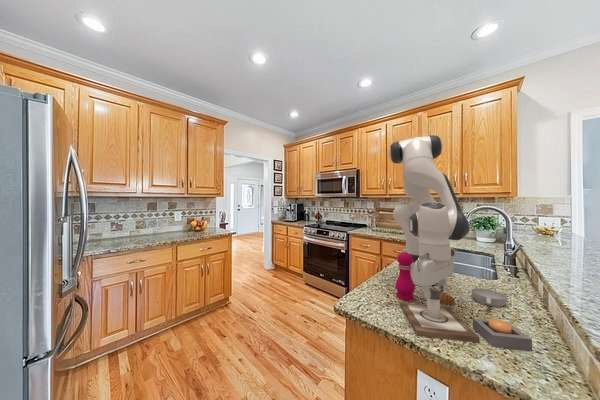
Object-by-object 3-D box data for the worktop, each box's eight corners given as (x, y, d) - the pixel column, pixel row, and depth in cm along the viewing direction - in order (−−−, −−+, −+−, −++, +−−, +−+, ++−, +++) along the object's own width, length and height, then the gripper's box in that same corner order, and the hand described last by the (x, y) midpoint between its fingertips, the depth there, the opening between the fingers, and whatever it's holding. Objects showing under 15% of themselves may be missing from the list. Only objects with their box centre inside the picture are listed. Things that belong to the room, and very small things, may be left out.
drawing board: (400, 306, 81) (400, 301, 81) (447, 310, 78) (447, 305, 78) (416, 335, 63) (416, 329, 63) (479, 342, 60) (479, 335, 60)
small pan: (506, 301, 86) (506, 292, 86) (509, 319, 73) (509, 307, 73) (472, 294, 93) (472, 285, 93) (469, 309, 80) (469, 298, 80)
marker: (424, 313, 72) (423, 289, 72) (434, 312, 73) (433, 288, 73) (432, 319, 68) (432, 293, 69) (443, 318, 69) (442, 292, 69)
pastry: (456, 302, 86) (456, 292, 86) (451, 307, 81) (451, 297, 81) (430, 294, 93) (430, 285, 93) (424, 299, 88) (424, 289, 88)
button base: (472, 327, 67) (472, 318, 67) (506, 331, 65) (506, 321, 65) (492, 346, 58) (492, 335, 58) (532, 351, 56) (531, 339, 56)
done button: (484, 325, 65) (484, 317, 65) (503, 327, 64) (503, 319, 64) (496, 335, 60) (495, 326, 60) (516, 337, 59) (516, 328, 59)
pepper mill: (391, 295, 91) (391, 248, 92) (404, 293, 94) (404, 247, 94) (405, 302, 84) (405, 251, 85) (419, 300, 87) (418, 250, 87)
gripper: (428, 258, 63) (429, 306, 62) (457, 249, 74) (458, 290, 74) (407, 254, 68) (408, 298, 68) (437, 246, 80) (438, 284, 79)
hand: (434, 294), depth 71 cm, fingers open, 8 cm apart
